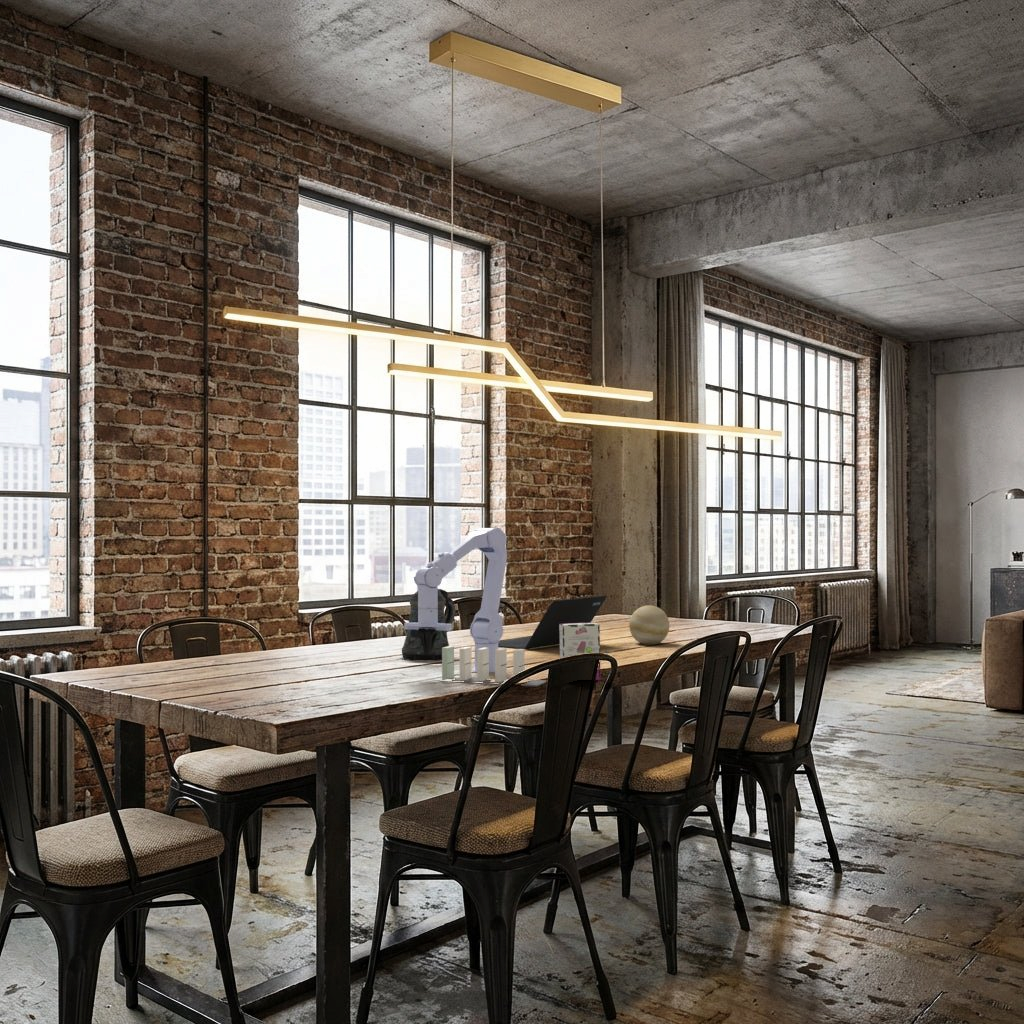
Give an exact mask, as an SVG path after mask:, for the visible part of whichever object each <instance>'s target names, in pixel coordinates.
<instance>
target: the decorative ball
mask: <svg viewBox="0 0 1024 1024" xmlns="http://www.w3.org/2000/svg"><path fill="white" fill-rule="evenodd" d="M628 626H629V632H630V634H631V636H632V637H633V638H634V640H635V641H636V642H638V643H639V644H640V645H648V646H649V645H650V646H651V645H652V646H653V645H658V644H660V643H662V642H663V641H664V640H665V639H666V638H667V636H668V634H669V631H670V620H669V617H668V615H667V614H666V613H665V611H664V610H663V609H661V607H658V606H656V605H655V606H654V605H651V604H650V605H642V606H641V607H640V606H639V608H637V609H636V610H635V611H633V613H632V615H631V616H630V619H629V625H628Z"/></svg>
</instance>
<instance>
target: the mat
mask: <svg viewBox="0 0 1024 1024" xmlns="http://www.w3.org/2000/svg"><path fill="white" fill-rule="evenodd" d="M471 677H472V678H470V679H467V680H460V676H458V677H454V678H455V680H452V681H464V682H483V683H499V684H501V683H503V682H504V681H502V682H490V681H491V680H484V681H477V676H471ZM530 680H531V681H530V682H527V683H525V684H521V687H540V686H541V685H544V684H546V683H547V682H546V681H547V680H543V679H530Z"/></svg>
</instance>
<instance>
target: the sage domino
mask: <svg viewBox="0 0 1024 1024" xmlns="http://www.w3.org/2000/svg"><path fill="white" fill-rule="evenodd" d="M449 678H455V646H453V645H449V646H447V647H444V648H442V660H441V679H449Z"/></svg>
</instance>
